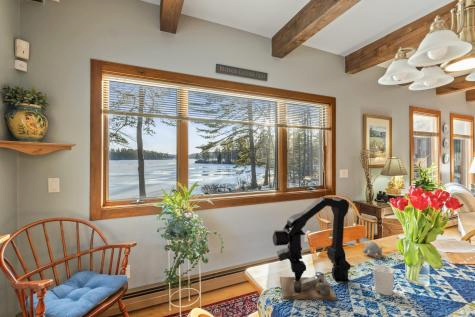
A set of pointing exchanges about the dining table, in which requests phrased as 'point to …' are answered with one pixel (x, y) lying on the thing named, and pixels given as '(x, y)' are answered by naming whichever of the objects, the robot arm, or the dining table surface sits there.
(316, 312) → the dining table surface
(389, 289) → the white cup
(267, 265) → the dining table surface
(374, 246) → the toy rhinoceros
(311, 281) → the lever
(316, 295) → the base
